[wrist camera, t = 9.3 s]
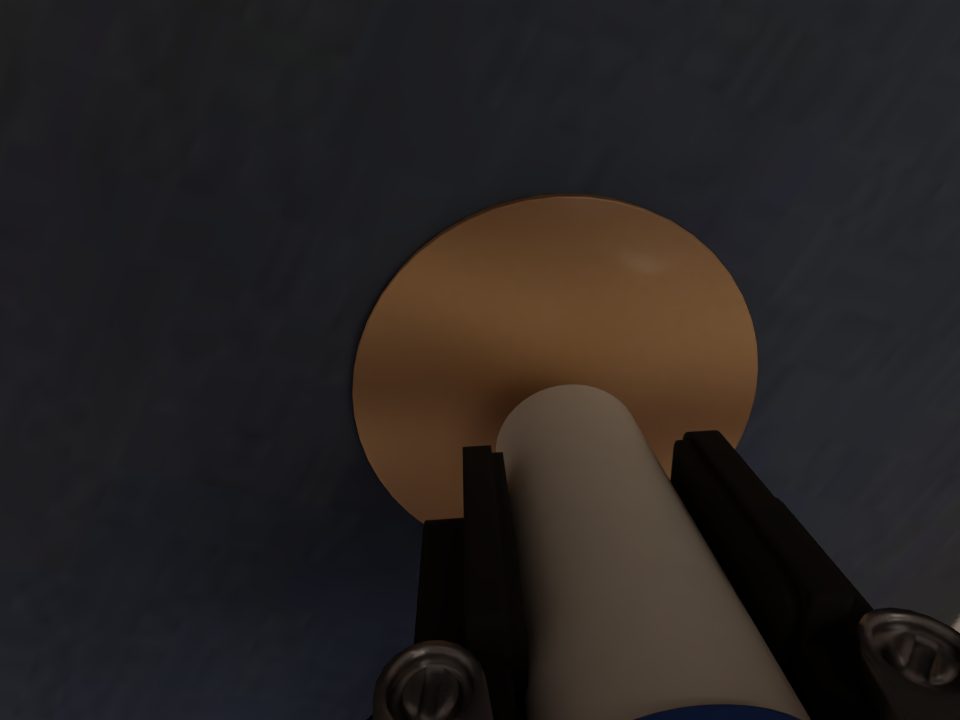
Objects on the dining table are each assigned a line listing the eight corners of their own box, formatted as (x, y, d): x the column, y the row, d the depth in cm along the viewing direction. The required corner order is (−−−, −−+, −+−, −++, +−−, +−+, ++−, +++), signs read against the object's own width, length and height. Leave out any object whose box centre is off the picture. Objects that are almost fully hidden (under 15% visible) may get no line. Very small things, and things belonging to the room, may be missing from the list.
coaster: (323, 207, 12) (319, 210, 12) (781, 179, 12) (791, 181, 12) (381, 561, 16) (379, 571, 16) (725, 537, 16) (731, 547, 16)
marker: (487, 384, 12) (588, 1271, 3) (646, 373, 12) (1270, 1214, 3) (494, 513, 13) (578, 1400, 4) (637, 503, 13) (1039, 1359, 4)
